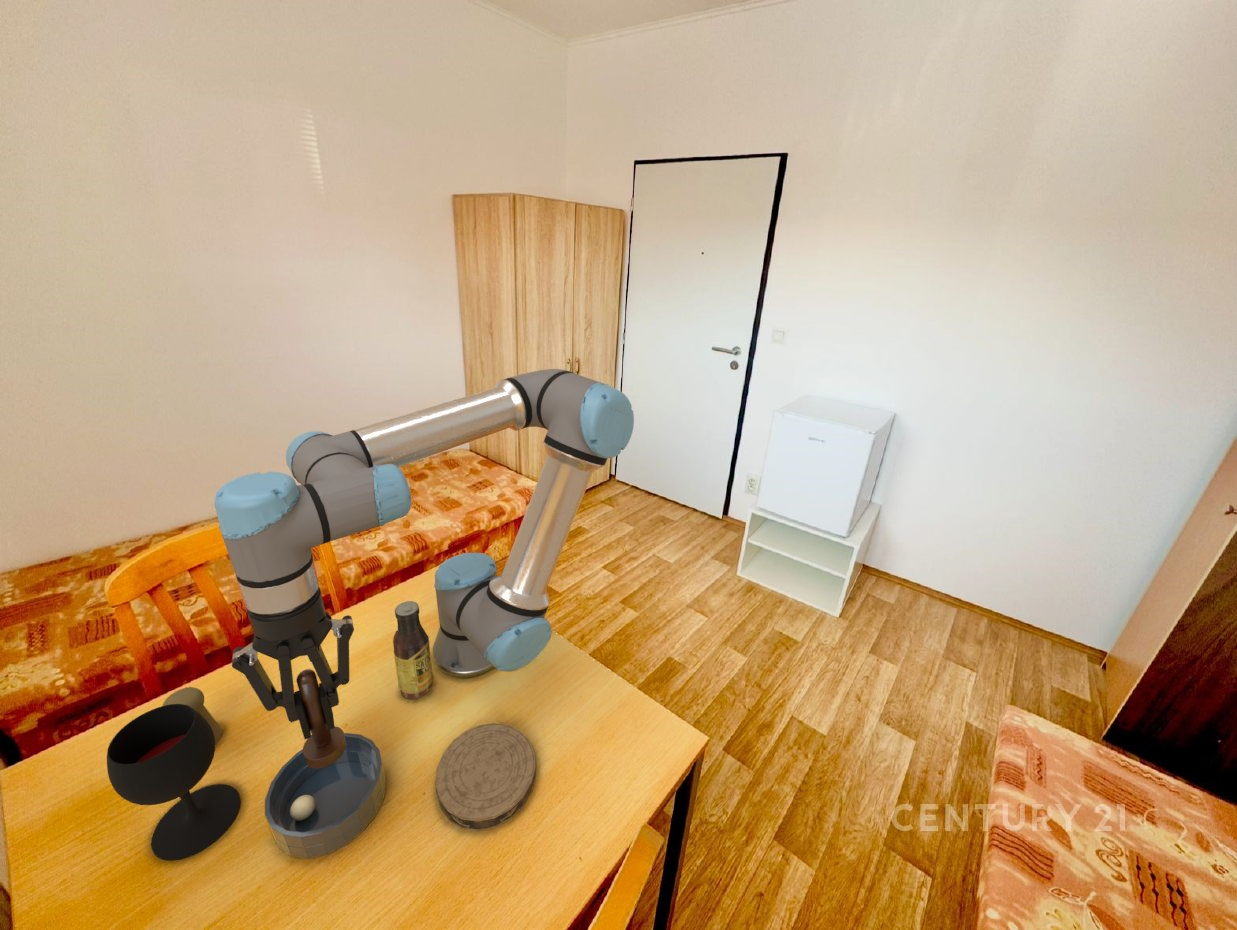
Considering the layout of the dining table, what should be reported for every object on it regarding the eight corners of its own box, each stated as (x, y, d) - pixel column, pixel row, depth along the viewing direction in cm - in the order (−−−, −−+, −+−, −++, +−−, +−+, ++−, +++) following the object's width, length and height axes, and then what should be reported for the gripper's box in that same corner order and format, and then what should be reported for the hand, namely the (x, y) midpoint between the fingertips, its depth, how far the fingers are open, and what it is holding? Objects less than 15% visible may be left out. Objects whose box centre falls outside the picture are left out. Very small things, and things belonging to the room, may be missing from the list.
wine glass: (228, 771, 79) (191, 685, 70) (251, 818, 73) (214, 730, 65) (143, 823, 72) (90, 734, 63) (161, 880, 66) (105, 790, 57)
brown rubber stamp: (344, 729, 75) (325, 651, 68) (348, 757, 71) (328, 678, 64) (304, 744, 72) (281, 665, 65) (306, 775, 68) (281, 694, 61)
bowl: (377, 741, 86) (373, 718, 83) (394, 823, 74) (389, 799, 72) (273, 785, 78) (265, 761, 75) (274, 884, 66) (264, 860, 64)
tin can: (487, 854, 72) (486, 842, 70) (415, 791, 79) (413, 779, 77) (554, 765, 84) (554, 754, 83) (487, 718, 91) (486, 707, 90)
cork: (197, 762, 80) (176, 717, 75) (167, 753, 81) (144, 708, 76) (231, 729, 85) (213, 685, 81) (202, 721, 86) (183, 677, 82)
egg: (316, 798, 76) (312, 786, 74) (317, 818, 74) (313, 805, 72) (292, 809, 74) (287, 797, 73) (292, 829, 72) (288, 817, 70)
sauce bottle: (425, 702, 93) (415, 624, 84) (393, 699, 93) (379, 621, 84) (439, 674, 99) (430, 599, 90) (408, 671, 99) (397, 595, 90)
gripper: (350, 562, 66) (374, 685, 76) (206, 596, 58) (254, 728, 68) (358, 595, 60) (382, 723, 70) (199, 638, 52) (252, 776, 62)
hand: (319, 725), depth 69 cm, fingers closed on brown rubber stamp, 2 cm apart
